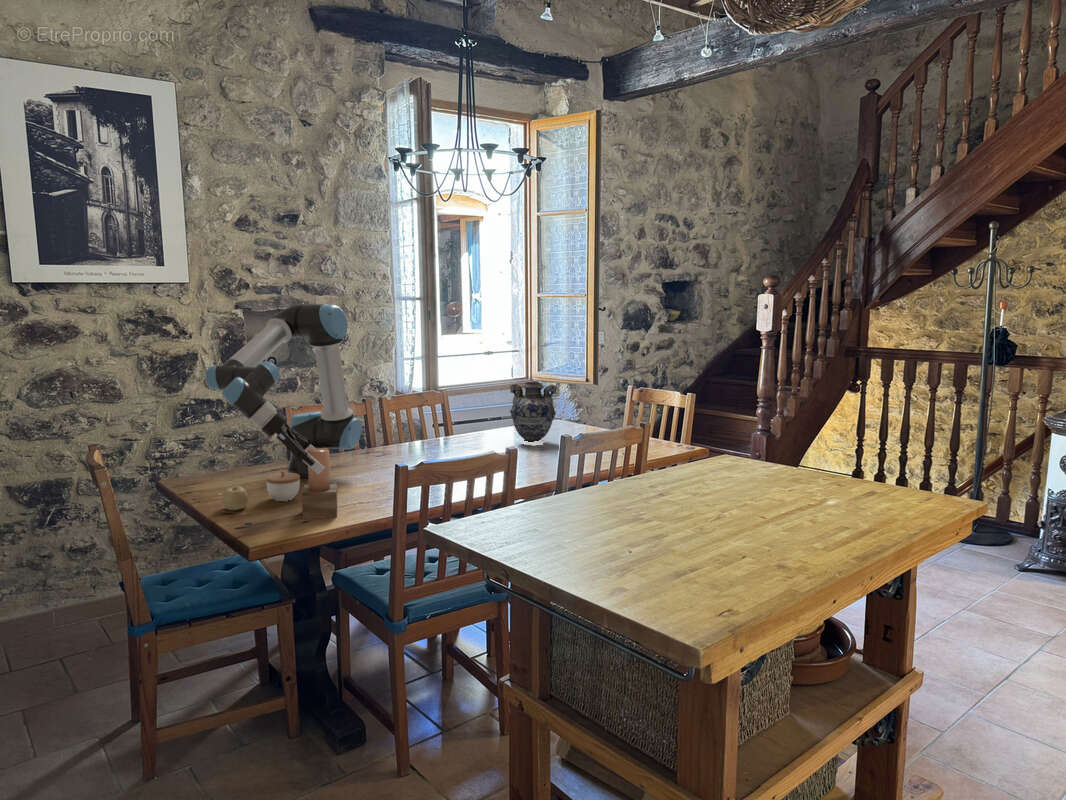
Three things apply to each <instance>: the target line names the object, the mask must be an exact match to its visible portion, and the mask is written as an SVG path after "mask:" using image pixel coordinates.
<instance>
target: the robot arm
mask: <svg viewBox="0 0 1066 800" xmlns="http://www.w3.org/2000/svg"><path fill="white" fill-rule="evenodd" d="M348 327H349V326H348V318H347V316H346V313H345V312H344V310H343V309H342V308H341V307H340V306H337V305H335V304H329V303H325V304H324V303H321V304H318V303H317V304H315V303H314V304H309V303H307V304H304V303H298V304H294V305H291V306H288V307H287V308H284V309H282V310H281V311H279V312H278V313H276V314H274V315H273V316H272V317H271V318H270V319H268V321H267V322H266V325H265V327H264V328H263V329H262V330H261V331H259V333H257V334H256V335H255V336H254V337H253V338H251V339H250V340H249V341H248V342H247V343H246V344H245V345H244V346H242V347H241V348H240V349H239V350H238V351H237V352H235V353H234V354H233V355H231V357H229V359H228V360H226V361H225V362H224V363H222V365H220V364H215V365H212V366H210V367H208V369H207V370H206V372H205V377H204V378H205V382H206V386H208V388H210V389H213V390H220V391H221V395H222V398H224V399H225V400H226V401H227V402H228V403H229V405H231V406H232V407H234V408H235V409H236V410H237V411H239V413H241V414H242V415H244V416H245V417H246V418H247V419H249V421H250V424H251V425H253V424H254V425H256V426H257V427H258V428H261V431H262V432H263V433H265V434H266V435H267V437H269V438H270V437H271V438H272V436H274V435H275V434H276V435H277V436H276V438H277V439H278V440H279V441H280V442H281V443H282V444H283V445H284V446H285V447H286V448H287V449H288V451H290V452H291V453H290V454H291V455H290V459H289V462H288V465H287V467H286V468H287V469H286V470H287V471H286V473H296V474H299V475H300V479H309V475H308V466H309V467H310V468H311V469H312V470H314V471H315V472H316V473H317V474H318V475H319V474H320V473H321V472H322V470H323V469H324V468H325V467H324V466H322V465H321V464H320V463H319V462H318V461H317V460H316V459H314V458H313V457H312V456H311V455H310V454H309V453H308V450H311V449H318V448H324V449H334V450H335V449H336V450H341V451H342V450H351V449H354V448H355V447H356V446H357V445H358V444H359V442H360V438H361V436H362V429H363V428H362V421H361V420H360V419H359V418H357V417H354V411H353V409H352V408H350V407H349V405H348V397H347V391H346V384H345V376H344V369H343V362H342V356H341V355H342V354H341V347H340V345H341V344H342V343H343V341H344V338H345V337H346V335H347V333H348ZM294 338H308V344H309V346H310V347H311V348H313V349H314V354H315V360H316V362H315V363H316V367H317V372H318V373H317V374H318V379H319V380H318V381H319V387H320V394H321V397H322V398H321V399H322V405H323V412H322V411H309V412H303V413H298V414H295V415H292V416H291V417H290V421H289V422H290V424H289V425H288V424H287V423H286V422H287V421H288V418H287V417H286V416H285V415H284V414H283V413H281V412H280V411H277V410H278V409H277V408H276V407H275V406H274V405H273V404H272V403H270V402H269V401H268V400H267V399H266V398H264V395H266V394H267V393H268V391H270V390H271V389H272V388H273V387H274V386H275V384H276V383H277V382H278V381H279V380H280V377H281V373H280V370H279V367H278V366H277V365H276V364H274V363H272V362H271V361H267V360H266V361H264V360H265V359H267V358H268V357H269V356H270V355H271V354H272V353H273V352H274V351H275V350H276V349H278V347H280V346H281V345H282V344H286V343H288V342H289V341H290V340H292V339H294Z"/></svg>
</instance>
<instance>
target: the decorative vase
mask: <svg viewBox="0 0 1066 800" xmlns="http://www.w3.org/2000/svg"><path fill="white" fill-rule="evenodd" d="M509 388H510V393H511V394H514V396H513V397H512V405H511V409H510V411H509V413H510V414H511V415H510V416H511V419H512V421H513V427H514V428H515V431H516V432H517V434H518V436H520V437H521V438H522V439H523V440H524V441H528V442H534V441H539V440H542V439H543V438H544V437H546V436H547V434H548V433H549V432H550V429H551V427H552V425H553V421H554V419H555V415H556V410H555V406H554V399H553V395H556V394H557V390H558V389H557V388H558V387H557V385H555V384H549V385H547V386H545V385H543V383H542V382H534V381H533V382H532V381H531V382H530V381H529V382H524V384H523V385H522V387H521V385H519V384H518V383H513V384H511V385H510V387H509ZM523 388H524V389H523ZM542 389H543V395H542ZM523 390H525V392H524V391H523ZM524 393H525V394H524Z"/></svg>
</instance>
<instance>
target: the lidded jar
mask: <svg viewBox="0 0 1066 800" xmlns="http://www.w3.org/2000/svg"><path fill="white" fill-rule="evenodd" d="M300 480H301V478H300V475H299V474H296V473H287V472H285V470H283V471H280V472H279V473H278V472H277V473H272V474H268V475H267V476H266V477H265V482H266V489H267V492H268V495H269V496H270V497H271V498H272V499H273V501H275V500H276V501H275V502H278V501H285V502H289V501H288V500H290V501H292V499H293V498H295V497H296V496H297V495H298V494H299V490H300V485H301V481H300ZM293 500H294V499H293Z"/></svg>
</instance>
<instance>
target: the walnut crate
mask: <svg viewBox="0 0 1066 800" xmlns="http://www.w3.org/2000/svg"><path fill="white" fill-rule="evenodd" d="M301 498H302V499H301V501H302V502H301V503H302V504H301V505H302V519H303V520H305V519H304V518H314V519H323V518H322V517H331V518H337V517H338V509H337V508H338V507H339V506H338V483H330V489H328V490H325V491H311V490H309V484H304V485H303V488H302V492H301Z"/></svg>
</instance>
